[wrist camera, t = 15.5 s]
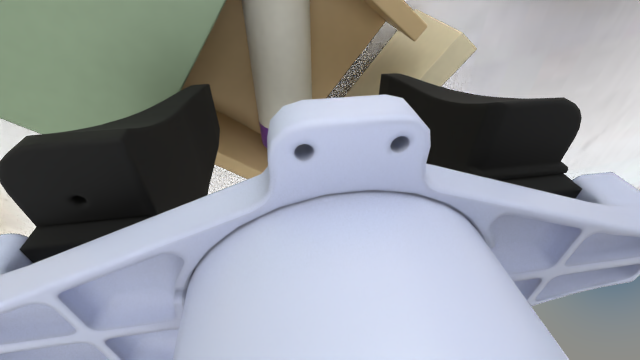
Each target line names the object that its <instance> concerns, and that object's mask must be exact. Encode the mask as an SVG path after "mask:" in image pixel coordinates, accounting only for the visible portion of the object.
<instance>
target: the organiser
mask: <svg viewBox="0 0 640 360" xmlns="http://www.w3.org/2000/svg"><path fill="white" fill-rule="evenodd" d="M225 2H226V0H0V118H1V119H4V120H6V121H9V122H11V123H14V124H17V125H19V126H22V127H24V128H27V129H30V130H32V131H35V132H37V133H40V134H50V133H58V132H66V131H72V130H78V129H83V128H88V127H93V126H97V125H101V124H105V123H109V122H112V121H115V120H119V119H122V118H125V117H128V116H131V115H134V114H136V113H139V112H141V111H144V110H146V109H148V108H150V107H152V106H154V105H156V104H158V103H160V102H162V101H164V100H165V99H167V98H169V97H171V96H172V95H174V94H176V93H178V92H179V91H181V89H182V88H183V86H184V84H185V82H186V80H187V78H188V76H189V74H190V72H191V70H192V68H193V66H194V64H195V62H196V60H197V58H198V56H199V54H200V52H201V50H202V48H203V46H204V44H205V42H206V40H207V38H208V36H209V34H210V32H211V30H212V28H213V26H214V24H215V22H216V20H217V18H218V16H219V14H220V12H221V10H222V8H223V6H224V4H225Z"/></svg>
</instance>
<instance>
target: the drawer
mask: <svg viewBox="0 0 640 360" xmlns="http://www.w3.org/2000/svg"><path fill="white" fill-rule="evenodd" d="M385 22H388V23H389V24H391V25H392V26H393V27H395V28H396V29H397V31H396V33H395V34H394V35H393V36H392V38H391V39H390V40H389V41H388V43H387V44H386V45H385V46H384V48H383V49H382V50H381V51H380V53H379V54H378V55H377V56H376V58H375V59H374V60H373V61H372V63H371V64H370V65H369V66H368V68H367V69H366V70H365V71H364V73H363V74H362V75H361V76H360V78H359V79H358V80H357V81H356V83H355V84H354V85H353V86H352V87H351V89H350V90H349V91H348V92H347V94H346V95H345V96H344V97H355V96H370V95H379V88H380V80H381V74H389V73H399V74H403V75H407V76H410V77H413V78H416V79H419V80H422V81H425V82H428V83H430V84H434V85H437V86H440V87H441V86H442V85H443V84H444V83H445V82H446V81H447V80H448V79H449V78H450V77H451V76H452V75H453V74H454V73H455V72H456V71H457V70H458V68H459V67H460V66H461V65H462V64H463V63H464V62H465V61H466V60H467V59H468V58H469V57H470V56H471V55H472V54H473V53H474V52H475V51H476V50H477V48H476V47H475V46H474V45H473V44H472V42H471V41H470V40H469V39H468V38H467V37H466V36H465V35H464V34H463V33H462V32H460V31H458V30H456V29H454V28H452V27H450V26H449V25H447V24H445V23H443V22H441V21H439V20H437V19H435V18H433V17H431V16H429V15H427V14H425V13H423V12H421V11H419V10H417V9H414V10H413V9H412V8H411V7H410V6H409V5H408V4H407V3H406V2H405V1H404V0H310V34H311V79H312V99H324V98H327V97H328V95H329V94H330V93H331V92H332V90H333V89H334V88H335V86H336V85H337V84H338V82H339V81H340V80H341V79H342V77H343V76H344V75H345V73H346V72H347V71H348V70H349V68H350V67H351V66H352V64H353V63H354V62H355V60H356V59H357V58H358V57H359V55H360V54H361V53H362V51H363V50H364V49H365V48H366V46H367V45H368V44H369V42H370V41H371V40H372V39H373V37H374V36H375V35H376V33H377V32H378V31H379V29H380V28H381V27H382V26H383V24H384V23H385ZM199 84H209V85H210V89H211V93H212V97H213V101H214V106H215V110H216V114H217V118H218V122H219V126H220V138H219V148H218V152H217V156H216V160H215V165H217V166H219V167H222V168H224V169H226V170H228V171H231V172H233V173H235V174H237V175H240V176H242V177H244V178H246V179H250V178H252V177H255V176H258V175H260V174H262V173H263V172H264V170H265V169H266V168H267V167H268V156H267V148H266V147H265V146H264V145H263V143H262V138H261V131H260V124H259V117H258V110H257V104H256V97H255V90H254V83H253V76H252V69H251V62H250V55H249V48H248V42H247V35H246V28H245V21H244V14H243V7H242V0H226V2H225V4H224V6H223V8H222V10H221V12H220V14H219V16H218V18H217V20H216V22H215V24H214V26H213V28H212V30H211V32H210V34H209V36H208V38H207V40H206V42H205V44H204V46H203V48H202V50H201V52H200V54H199V56H198V58H197V60H196V62H195V64H194V66H193V68H192V70H191V72H190V74H189V76H188V78H187V80H186V82H185V84H184V86H183V88H182V89H181V90H183V89H185V88H187V87H189V86H191V85H199Z"/></svg>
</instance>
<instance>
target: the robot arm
mask: <svg viewBox="0 0 640 360" xmlns="http://www.w3.org/2000/svg"><path fill="white" fill-rule="evenodd" d="M580 123H581V113H580V109H579V108H578V107H577V105H576V104H574V103H573V102H571V101H569V100H567V99H566V98H540V99H518V98H499V97H489V96H481V95H474V94H469V93H464V92H459V91H454V90H450V89H447V88H443V87H440V86H437V85H434V84H430V83H428V82H425V81H422V80H419V79H416V78H413V77H410V76H407V75H403V74H399V73H389V74H381V80H380V88H379V95H370V96H355V97H339V98H324V99H309V100H301V101H297V102H294V103H291V104H288V105H285V106H283V107H282V108H281V109H280V110H279V111H278V112H277V113H276V114H275V115H274V116H273V117H272V119H271V120H270V124H269V129H268V135H267V156H268V167H267V168H266V169H265V170H264V172H263V173H262V174H260V175H258V176H255V177H252V178H250V179H247V180H245V181H242V182H240V183H237V184H235V185H232V186H230V187H227V188H225V189H222V190H219V191H217V192H214V193H212V194H209V195H208V189H209V184H210V180H211V176H212V172H213V168H214V164H215V160H216V156H217V152H218V148H219V138H220V126H219V122H218V118H217V114H216V110H215V106H214V101H213V97H212V93H211V89H210V85H209V84H199V85H191V86H189V87H187V88H185V89H183V90H181V91H179V92H178V93H176V94H174V95H172V96H171V97H169V98H167V99H165V100H164V101H162V102H160V103H158V104H156V105H154V106H152V107H150V108H148V109H146V110H144V111H141V112H139V113H136V114H134V115H131V116H128V117H125V118H122V119H119V120H115V121H112V122H109V123H105V124H101V125H97V126H93V127H88V128H83V129H78V130H72V131H66V132H58V133H50V134H42V135H31V136H26V137H25V138H24V139H23V140H22V141H20V142H19V143H18V144H17V145H16V146H15V147H13V148H12V149H11V150H10V151H9V152H8V153H7V154H6V155H5V156H4V157H3V158H2V160H1V161H0V183H1V184H2V186H3V187H4V189H5V190H6V192H7V193H8V195H9V196H10V197H11V198H12V199H13V200H14V201H15V203H16V204H17V205H18V206H19V207H20V208H21V209H22V211H23V212H24V213H25V214H26V215H27V216H28V217H29V219H30V220H31V221H32V222H33V223H34V224H35V225H36V226H37V227H36V228H35V230H34V231H33V232H32V234H31V235H30V236H29V238H28V237H27V236H24V235H21V234H1V235H0V360H569V359H568V357H567V356H566V355H565V353H564V352H563V350H562V349H561V348H560V346H559V345H558V344H557V342H556V341H555V339H554V338H553V336H552V335H551V334H550V332H549V331H548V329H547V328H546V327H545V325H544V324H543V322H542V321H541V320H540V318H539V317H538V315H537V314H536V313H535V311H534V310H533V308H532V307H531V306H533V305H536V304H540V303H543V302H547V301H550V300H553V299H557V298H560V297H564V296H567V295H571V294H575V293H578V292H582V291H586V290H590V289H595V288H599V287H604V286H609V285H615V284H621V283H627V282H631V281H633V280H634V279H635V278H637V277H638V276H639V275H640V191H639V190H638V189H636V188H635V187H633V186H632V185H631V184H629V183H628V182H626V181H625V180H623V179H622V178H620V177H619V176H618V175H616V174H615V173H613V172H606V173H597V174H587V175H581V176H578V177H576V178H575V179H573V180H571V179H570V178H568V177H567V176H566V175H565V174H563V173H566V172H567V171H568V167H567V166H566V165H565V164H563V163H562V162H561V160H562V158H563V156H564V155H565V153H566V151H567V150H568V148H569V147H570V145H571V143H572V142H573V140H574V138H575V136H576V134H577V132H578V130H579V128H580Z"/></svg>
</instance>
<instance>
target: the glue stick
mask: <svg viewBox="0 0 640 360" xmlns="http://www.w3.org/2000/svg"><path fill="white" fill-rule="evenodd" d="M242 7H243V14H244V21H245V28H246V35H247V42H248V48H249V55H250V62H251V69H252V76H253V83H254V90H255V97H256V104H257V110H258V117H259V124H260V131H261V138H262V143H263V145H264V146H265V147H266V148H267V135H268V129H269V124H270V120H271V119H272V117H273V116H274V115H275V114H276V113H277V112H278V111H279V110H280V109H281V108H282V107H283V106H285V105H288V104H291V103H294V102H297V101H301V100H309V99H312V79H311V34H310V0H242Z"/></svg>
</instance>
